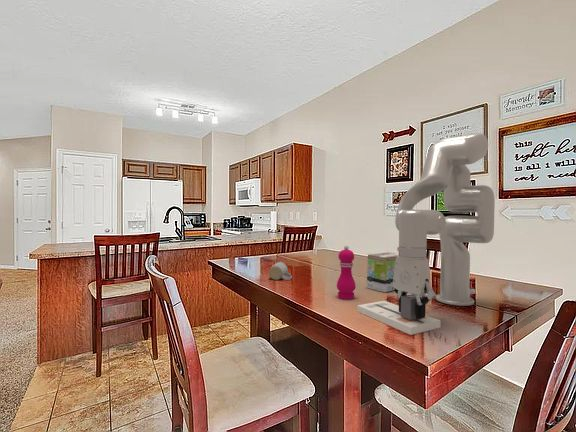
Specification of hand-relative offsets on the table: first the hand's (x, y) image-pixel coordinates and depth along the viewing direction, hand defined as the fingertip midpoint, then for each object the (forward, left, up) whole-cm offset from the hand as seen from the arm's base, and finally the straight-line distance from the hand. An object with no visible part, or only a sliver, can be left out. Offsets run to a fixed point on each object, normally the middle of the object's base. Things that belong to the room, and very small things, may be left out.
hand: (411, 314), depth 91 cm
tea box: (-26, -36, -4) cm, 45 cm away
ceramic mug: (+7, -72, -4) cm, 73 cm away
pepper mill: (-1, -32, -3) cm, 32 cm away
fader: (0, 0, -1) cm, 1 cm away
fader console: (0, -6, -3) cm, 7 cm away
